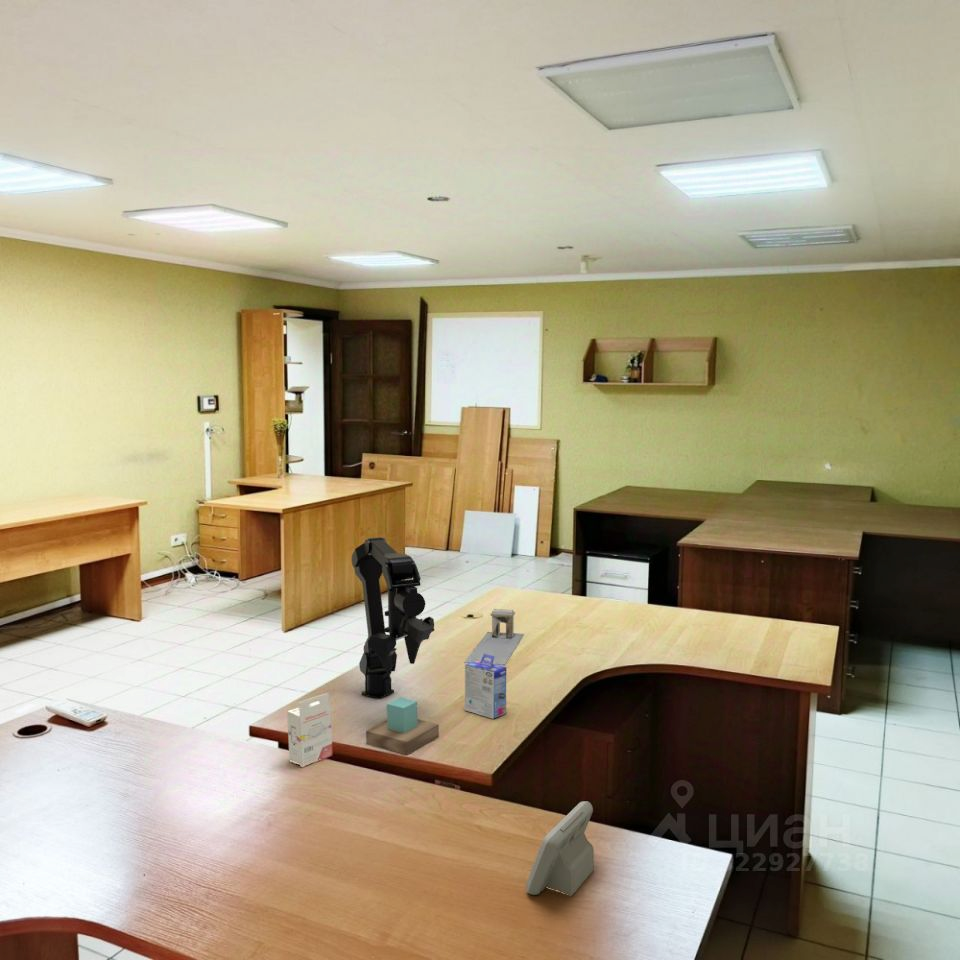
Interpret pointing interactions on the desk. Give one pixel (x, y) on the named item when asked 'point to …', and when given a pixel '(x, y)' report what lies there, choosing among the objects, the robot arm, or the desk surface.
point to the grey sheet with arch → (497, 639)
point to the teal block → (402, 715)
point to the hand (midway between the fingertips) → (400, 668)
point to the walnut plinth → (402, 737)
